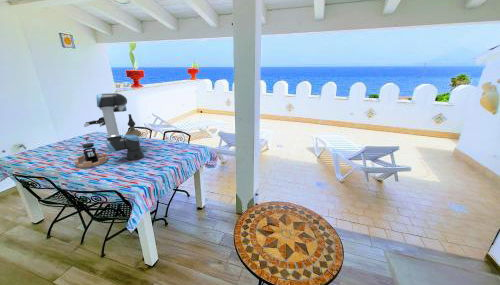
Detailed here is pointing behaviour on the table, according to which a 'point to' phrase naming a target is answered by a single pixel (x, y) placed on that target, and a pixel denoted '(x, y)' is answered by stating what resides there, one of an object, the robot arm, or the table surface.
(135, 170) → the table surface
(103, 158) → the castellated ring
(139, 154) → the robot arm
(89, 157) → the french press
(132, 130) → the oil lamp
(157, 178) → the table surface
